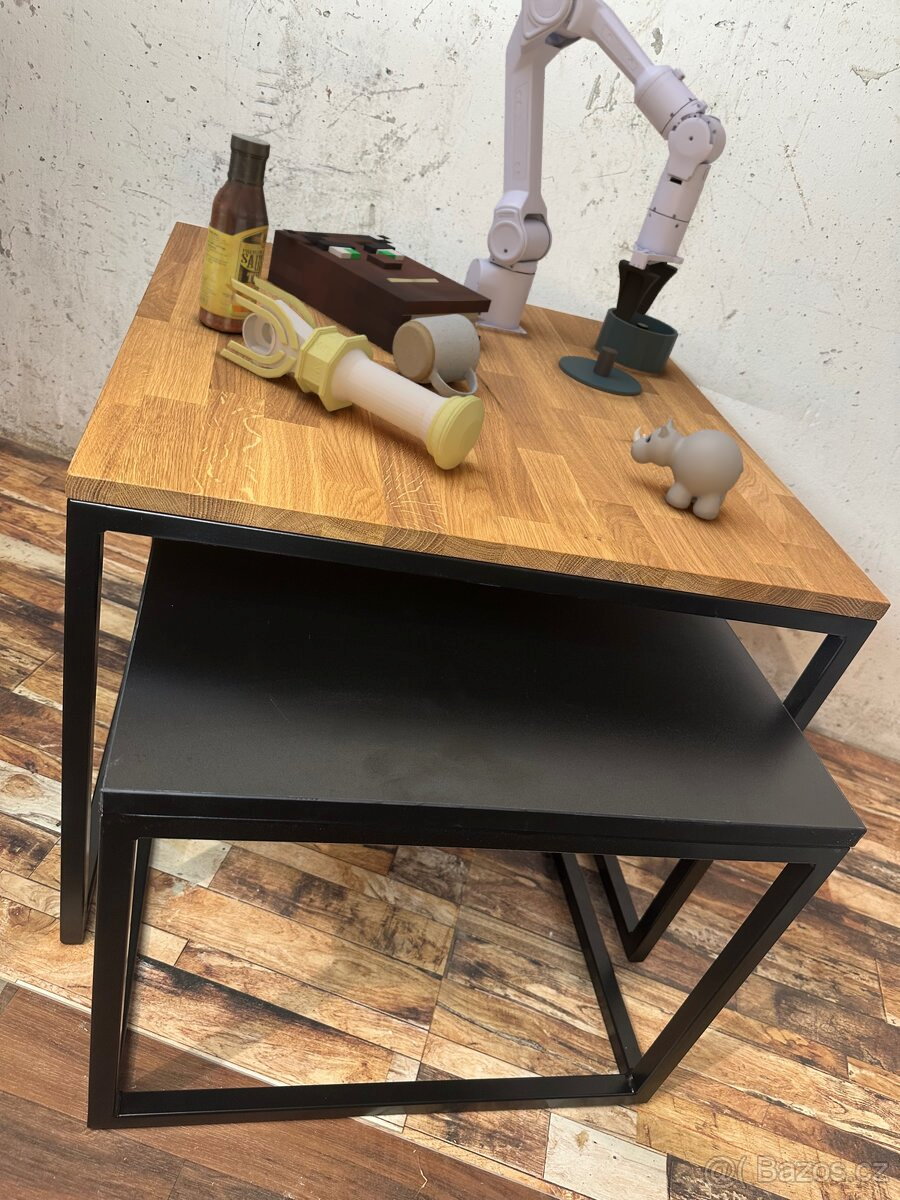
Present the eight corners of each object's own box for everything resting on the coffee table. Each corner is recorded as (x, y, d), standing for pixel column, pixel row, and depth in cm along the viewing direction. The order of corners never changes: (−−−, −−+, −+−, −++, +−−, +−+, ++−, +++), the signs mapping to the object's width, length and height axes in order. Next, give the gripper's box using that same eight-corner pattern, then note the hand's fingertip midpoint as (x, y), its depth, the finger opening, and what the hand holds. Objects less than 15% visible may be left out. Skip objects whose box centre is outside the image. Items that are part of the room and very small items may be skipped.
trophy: (502, 392, 83) (267, 274, 92) (463, 406, 77) (216, 278, 86) (477, 467, 87) (254, 348, 96) (438, 486, 81) (205, 357, 91)
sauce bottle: (239, 340, 97) (267, 149, 87) (187, 322, 98) (208, 129, 87) (261, 327, 103) (289, 146, 92) (211, 310, 103) (234, 127, 93)
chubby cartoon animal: (627, 464, 99) (656, 394, 94) (725, 509, 96) (761, 439, 91) (608, 481, 93) (638, 408, 89) (712, 529, 90) (749, 456, 85)
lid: (577, 392, 116) (589, 359, 113) (544, 357, 125) (555, 326, 123) (653, 405, 121) (666, 374, 118) (616, 371, 130) (628, 341, 127)
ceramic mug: (381, 367, 103) (397, 304, 98) (429, 364, 108) (446, 304, 104) (441, 408, 98) (461, 343, 93) (488, 403, 103) (509, 341, 99)
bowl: (611, 369, 130) (628, 327, 126) (582, 342, 138) (597, 302, 135) (673, 381, 134) (691, 341, 131) (641, 353, 142) (657, 315, 139)
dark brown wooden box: (414, 302, 102) (257, 216, 115) (399, 363, 106) (249, 273, 119) (512, 300, 116) (362, 224, 129) (495, 354, 120) (351, 275, 133)
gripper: (684, 227, 108) (642, 333, 115) (708, 223, 120) (669, 319, 127) (632, 208, 110) (594, 313, 117) (661, 206, 121) (625, 302, 129)
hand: (630, 315), depth 122 cm, fingers open, 7 cm apart
